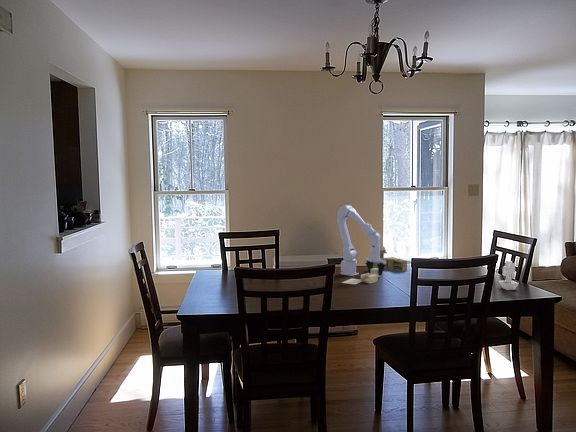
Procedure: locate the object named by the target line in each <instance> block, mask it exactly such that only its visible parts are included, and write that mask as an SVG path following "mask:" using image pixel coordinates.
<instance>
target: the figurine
mask: <svg viewBox="0 0 576 432" xmlns="http://www.w3.org/2000/svg"><path fill="white" fill-rule="evenodd" d="M515 273H516V264H515V263H513V261H512V260H505V264H504V266H502V276H503V277H505V279H504V280H498V282H499V284H500V286H501V288H502V289H504V290H506V291H510V290H511V291H513V290H516V288H517V287H518V286H519V282H517V281H515V280H512V275H513V274H515Z"/></svg>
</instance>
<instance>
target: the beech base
mask: <svg viewBox="0 0 576 432" xmlns="http://www.w3.org/2000/svg"><path fill="white" fill-rule="evenodd" d="M378 278H379V277H378V275H376V274H371V273H369V272H367V273H362V274H360V280H361V282H360V283H367V284H373V283H377V282H378V281H379V279H378Z"/></svg>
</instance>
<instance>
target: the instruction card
mask: <svg viewBox="0 0 576 432" xmlns="http://www.w3.org/2000/svg"><path fill="white" fill-rule="evenodd" d="M341 283H342V284H346V285H347V284H349V285H357V284H360V283H362V282H361V278H350V279H346V280H345V281H341Z"/></svg>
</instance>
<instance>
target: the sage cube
mask: <svg viewBox="0 0 576 432" xmlns="http://www.w3.org/2000/svg"><path fill="white" fill-rule="evenodd" d="M370 273H371V274H376V275H378V278H381V276H382V275H379V269H378V268H372V269H370Z"/></svg>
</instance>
